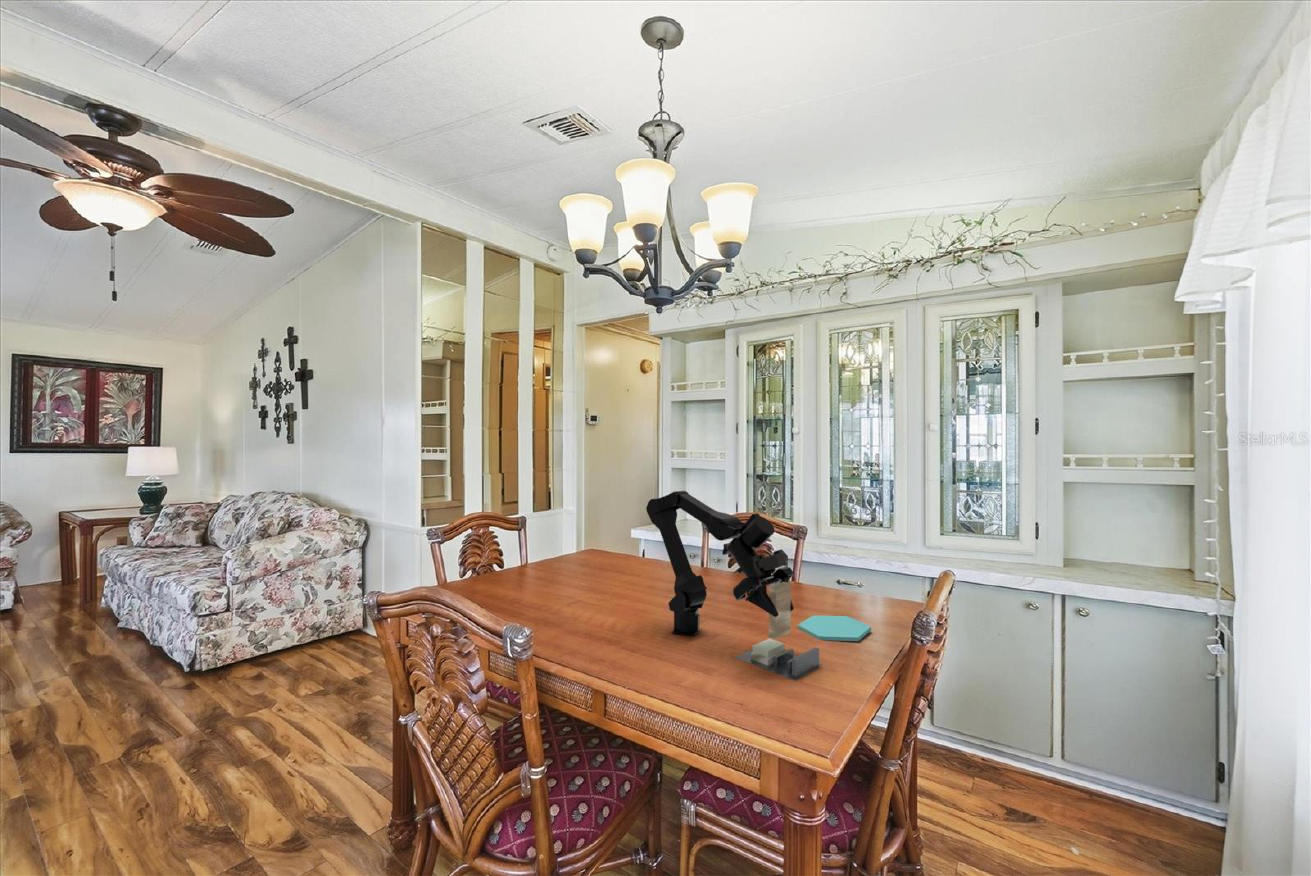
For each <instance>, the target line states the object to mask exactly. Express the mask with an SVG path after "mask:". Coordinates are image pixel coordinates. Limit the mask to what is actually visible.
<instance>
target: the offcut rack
mask: <svg viewBox="0 0 1311 876" xmlns="http://www.w3.org/2000/svg"><path fill="white" fill-rule="evenodd" d="M785 650H786V651H784V652H782V653H780V654H778V655H776V656H774V663H773V664H771V665H769V666H767V665H765V664H762V663H759V662H757V661H754V660H751V653H752V652H753V648H752V649H750V650H748V651H746V652H744V653H741V654H739V655H736V656H735V657H734V658H735V659H737V660H740V661H742V662H746V663H748V664H751V665H753V666H755V667H757V668H760V669H764V670H766V671H769V672H771V673H773V674H777V675H779V676H781V677H785V678H787V679H790V680H792V681H797V680H800V679H801V678H802V677H805V676H807V675H808V674H810V673H812V672H813V671H815V670H817V669H819V668H820V667H823V665H824V664H821V663H820V648H818V647H814V648H812V649H809V650H807V651H805V652H802V653H801V654H799V655H795V654H794V648H789V649H785Z"/></svg>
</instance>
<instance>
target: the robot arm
mask: <svg viewBox="0 0 1311 876" xmlns="http://www.w3.org/2000/svg"><path fill="white" fill-rule="evenodd" d="M680 509H681V510H682V511H683V512H685V513H686V514H689V516H691V517H693V518H694V519H696V521H697V520H698V521H699V522H700V523H702V524H703V525H704V526H705V527H706V529H707V532H708V533H709V534H710V535H711V536H713V537H714V539H716V540H717V541H726V540H731V541H730V542H728V543H724V544H723V549H722V551H721V552H722V555H723V556H726V555H729V554H731V557H732V558H733V559H734V560H735V562H736V564H737V565H738V566H739V568H738V569H737V572H738V574H742V573H743V574H744V576H745V577H744V578H742V580H740V581H739V582H738V583H737V585H736V586H734V588H733V589H732V595H733V597H734V598H735V600H736V601H737V602H738V601H742V600H745V602H749V603H750V604H753V605H755V606H756V607H758V608H760V609H761V610H763V611H765V612H766V613H768V615H769V614H771V615H772V616H774V617H777V616H778V615H779V614H778V612H777V610H776V608H775V606H774V605H773V603H772V601H771V600H770V598H769V595H768V591H767V589H768V588H767V586H772V585H776V584H779V583H782V582H786V583H789V582H790V580H791V578H793V576H794V575H795V572H794V570H792V567H790V566H789V567H788V563H787V562H788V559H789V556H788V554H786V552H785V551H784V549H781V548H780V549H777V550H774V551H772V552H773V554H771V555H769V556H765V554H762V553H761V554H759V553H758V552H757V550H756V548H757V549H758V548H760V547H762V546H763V544H765V543H766V542H767V540H769V539H770V538H771V536H773V534H774V533H775V527H774V525H773V523H772V522H771V521H769V520H768V519H766V518H765V517H763V516H761V515H760V514H759V513H757V512H756V513H752V514H751V515H750V516H749V518H748V519H747V520H746V522H744V521H741V520H740V518H738V517H737V516H734V515H732V514H729V513H726V512H720V511H719V510H718V511H717V510H715V509H714V508H711V507H710V506H709V505H707V504H706V503H704V502H702V501H700V500H699V499H697V498H696V497H694V496H693V495H691V494H689V492H688V491H686V490H677V491H672V492H671V493H669V494H667V495H664V496H661V497H659V498H658V497H657V498H651V499H649V500H648V501H647V505H646V513H647V515H648V517H649V520H650V522H651V523H652V524H653V525H654V526H655V527H656V528H657V529H658V530H659V532H660V534H661V538H662V541H663V544H664V547H665V550H666V552H667V556H668V559H669V561H670V564H671V567H672V570H673V573H674V576H675V580H674V586H673V590H674V596H673V597H672V598H671V599H670V601H669V602H668V607H669V611H670V612H672V613H673V630H672V632H671V633H672V634H674V635H683V636H684V635H685V636H691V637H692V636H693V637H694V636H696V635H697V633H698V632H699V631H700V629H701V627H700V625H701V623H700V622H701V615H700V614H699V609H703V605H704V603H705V601H706V599H707V589H708V587H707V585H705V582H704V578H703V576H702V575H701V574H700V575H697V574H696V573H694V572H693V569H692V567H691V564H690V562H689V558H688V555H687V553H686V550H685V547H684V545H683V541H682V538H681V535H680V533H679V530H678V528H677V527H678V526H677V518H678V512H677V511H678V510H680ZM782 566H783V567H782ZM746 595H747V597H746ZM790 611H791V612H792V611H794V604H793V602H792V600H791V610H790Z"/></svg>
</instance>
